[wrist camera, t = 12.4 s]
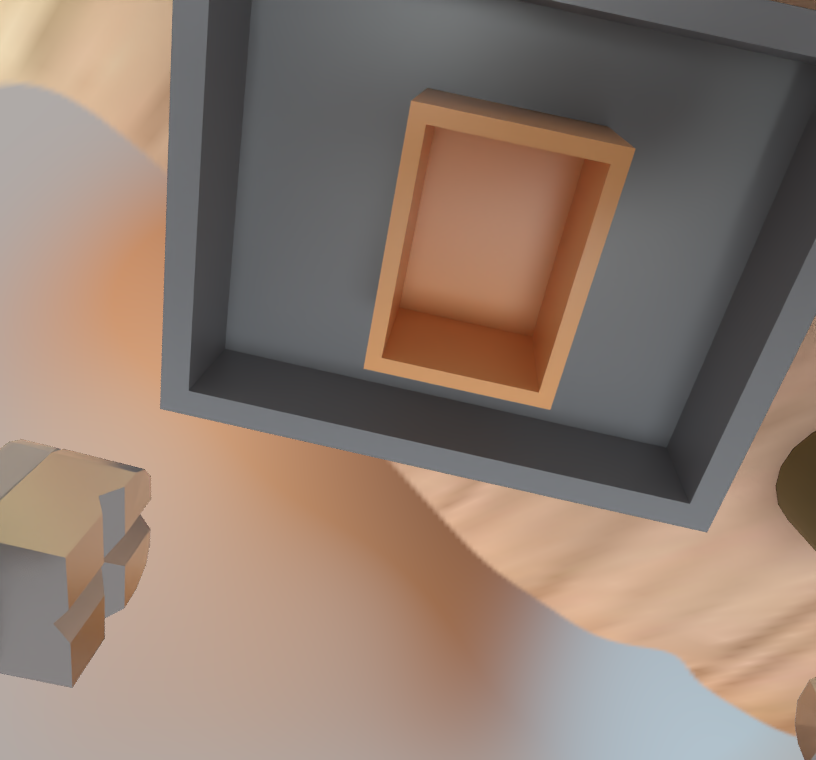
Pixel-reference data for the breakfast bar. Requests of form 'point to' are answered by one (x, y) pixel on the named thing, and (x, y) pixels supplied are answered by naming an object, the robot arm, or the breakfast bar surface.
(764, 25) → the charcoal crate
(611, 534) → the breakfast bar surface
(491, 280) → the orange crate
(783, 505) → the cork
